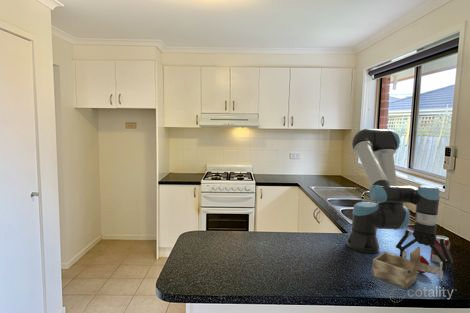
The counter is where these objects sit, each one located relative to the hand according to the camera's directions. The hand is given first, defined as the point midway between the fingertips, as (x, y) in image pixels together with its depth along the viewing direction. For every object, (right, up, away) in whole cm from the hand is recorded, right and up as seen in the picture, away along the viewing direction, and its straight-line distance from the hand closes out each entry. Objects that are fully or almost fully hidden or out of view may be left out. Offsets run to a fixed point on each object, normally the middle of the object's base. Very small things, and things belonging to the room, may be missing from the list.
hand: (421, 271), depth 118 cm
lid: (-9, +9, -10) cm, 16 cm away
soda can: (+16, -1, +12) cm, 20 cm away
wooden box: (-14, -1, -4) cm, 14 cm away
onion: (0, -1, 0) cm, 1 cm away
